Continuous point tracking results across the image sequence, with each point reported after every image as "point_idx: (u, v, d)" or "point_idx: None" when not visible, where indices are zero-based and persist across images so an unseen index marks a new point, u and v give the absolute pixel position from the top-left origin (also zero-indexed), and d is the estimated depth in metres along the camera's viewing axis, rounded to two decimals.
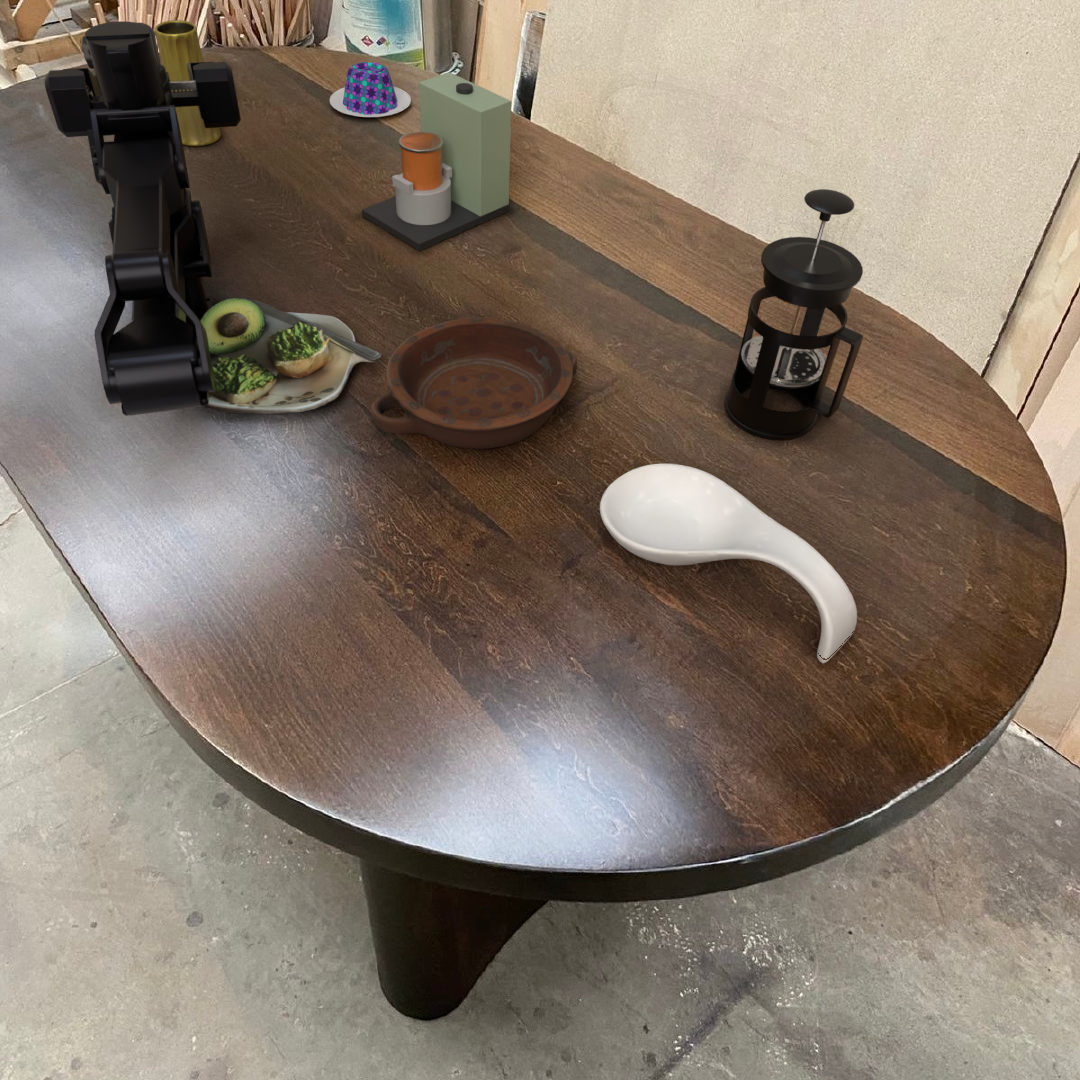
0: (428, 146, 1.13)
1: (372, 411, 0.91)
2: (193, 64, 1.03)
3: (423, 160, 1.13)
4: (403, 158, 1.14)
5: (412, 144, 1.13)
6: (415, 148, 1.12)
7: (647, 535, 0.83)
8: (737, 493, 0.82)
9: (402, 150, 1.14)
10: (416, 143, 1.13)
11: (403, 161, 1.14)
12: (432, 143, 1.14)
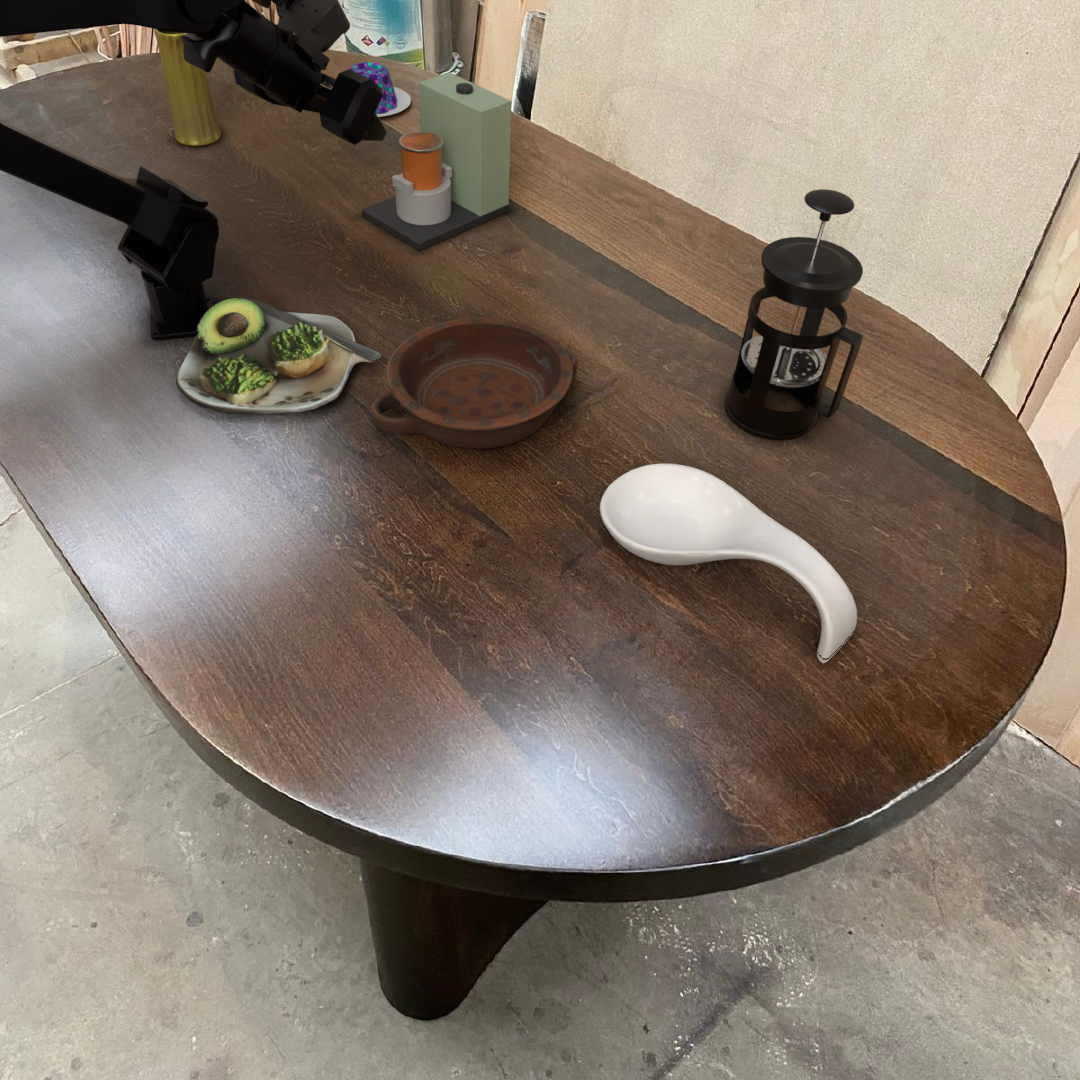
0: (428, 146, 1.13)
1: (372, 411, 0.91)
2: None
3: (423, 160, 1.13)
4: (403, 158, 1.14)
5: (412, 144, 1.13)
6: (415, 148, 1.12)
7: (647, 535, 0.83)
8: (737, 493, 0.82)
9: (402, 150, 1.14)
10: (416, 143, 1.13)
11: (403, 161, 1.14)
12: (432, 143, 1.14)
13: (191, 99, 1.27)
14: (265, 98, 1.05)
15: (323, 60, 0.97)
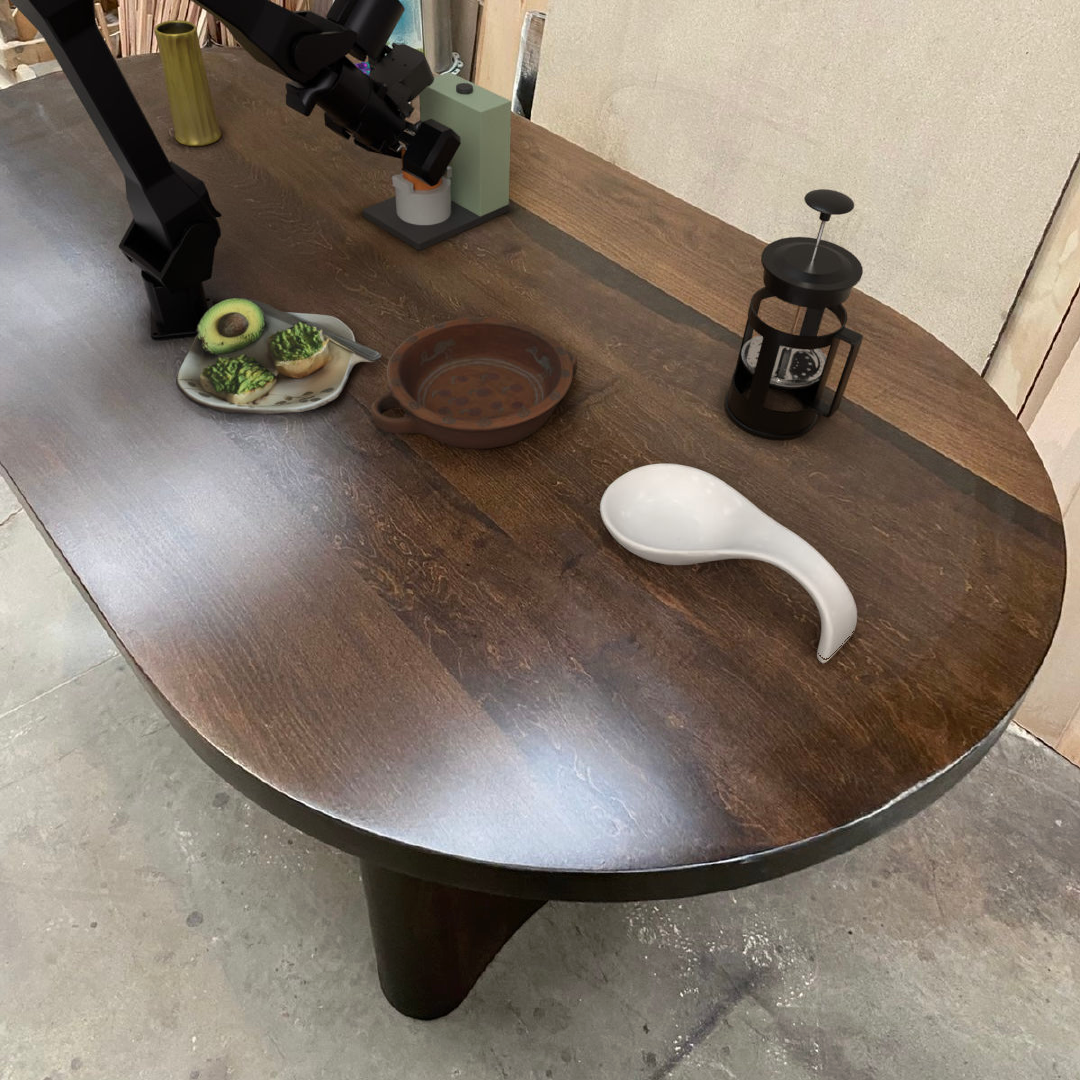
0: None
1: (372, 411, 0.91)
2: None
3: None
4: None
5: None
6: None
7: (647, 535, 0.83)
8: (737, 493, 0.82)
9: (402, 150, 1.14)
10: None
11: None
12: None
13: (191, 99, 1.27)
14: (361, 145, 1.13)
15: (408, 109, 1.06)
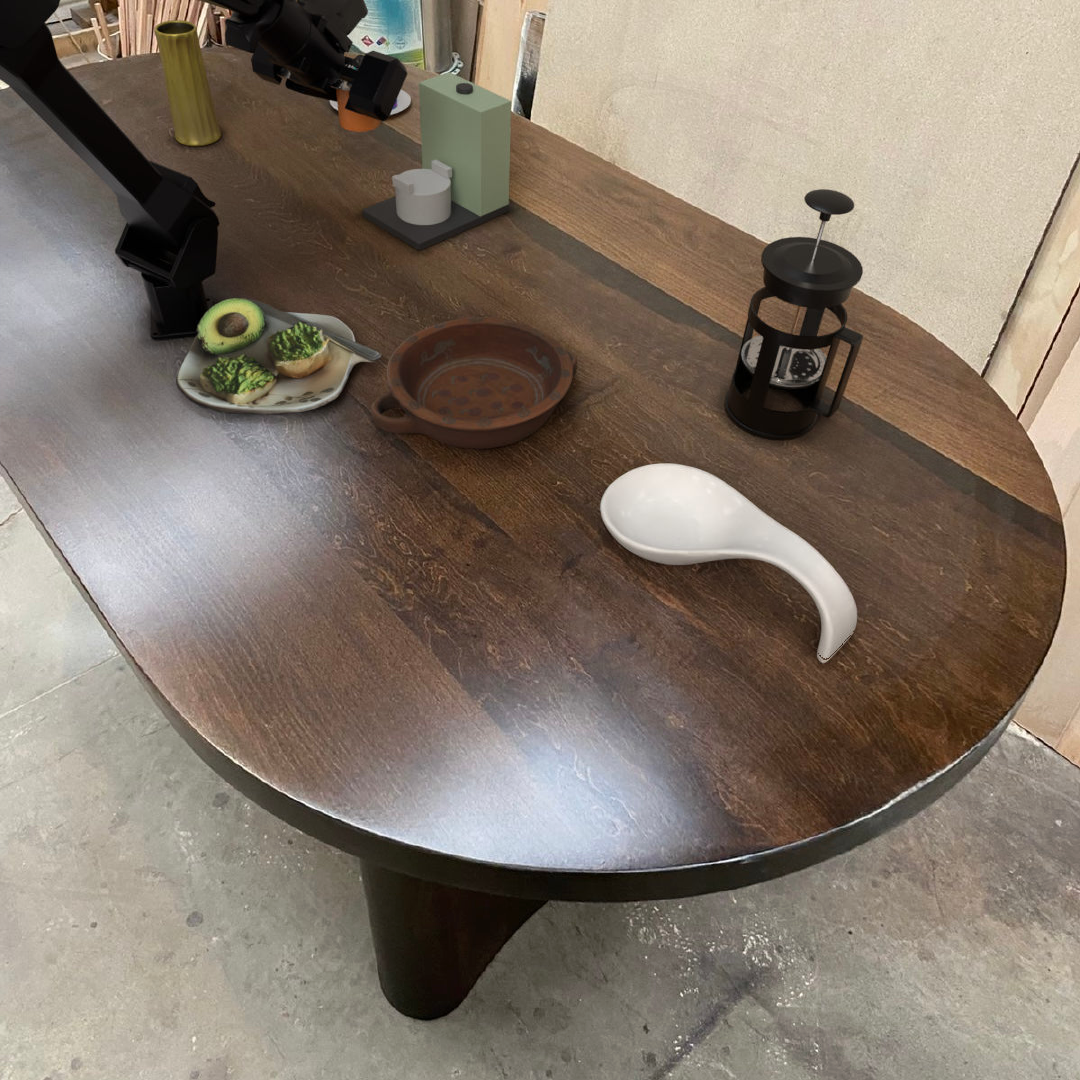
0: None
1: (372, 411, 0.91)
2: None
3: None
4: (340, 99, 1.10)
5: None
6: None
7: (647, 535, 0.83)
8: (737, 493, 0.82)
9: (338, 90, 1.10)
10: None
11: (340, 102, 1.11)
12: None
13: (191, 99, 1.27)
14: (294, 89, 1.09)
15: (347, 43, 1.03)
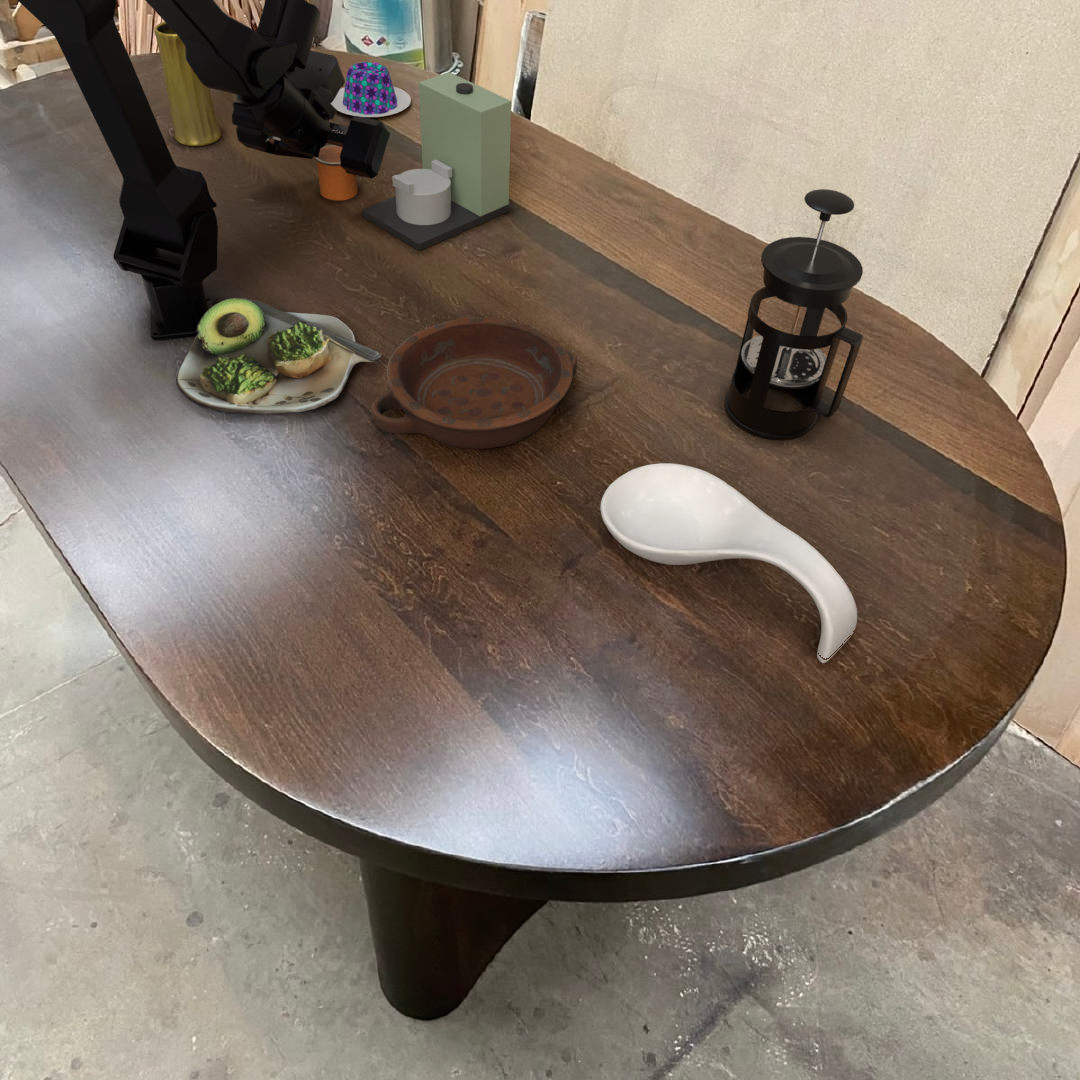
0: None
1: (372, 411, 0.91)
2: None
3: (344, 171, 1.21)
4: (322, 173, 1.21)
5: (329, 158, 1.20)
6: (335, 161, 1.20)
7: (648, 535, 0.83)
8: (738, 493, 0.82)
9: (320, 165, 1.21)
10: (332, 157, 1.21)
11: (322, 176, 1.21)
12: None
13: (191, 99, 1.27)
14: (266, 151, 1.18)
15: (332, 110, 1.13)
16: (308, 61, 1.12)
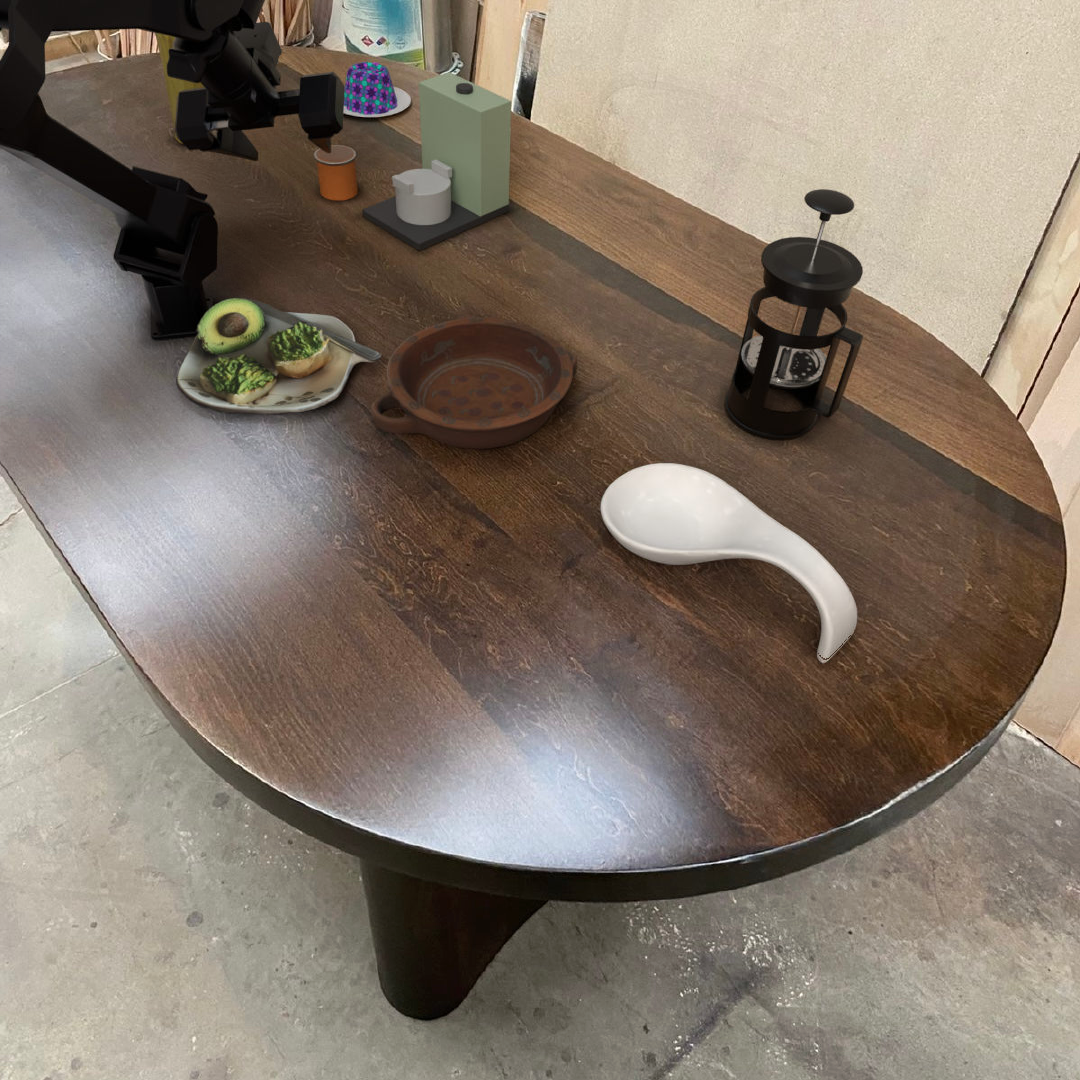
0: (345, 157, 1.21)
1: (372, 411, 0.91)
2: None
3: (344, 171, 1.21)
4: (322, 173, 1.21)
5: (329, 158, 1.20)
6: (335, 161, 1.20)
7: (648, 534, 0.83)
8: (738, 493, 0.82)
9: (320, 165, 1.21)
10: (332, 157, 1.21)
11: (322, 176, 1.21)
12: (346, 154, 1.22)
13: None
14: (211, 148, 1.07)
15: (277, 75, 1.03)
16: (239, 33, 1.03)
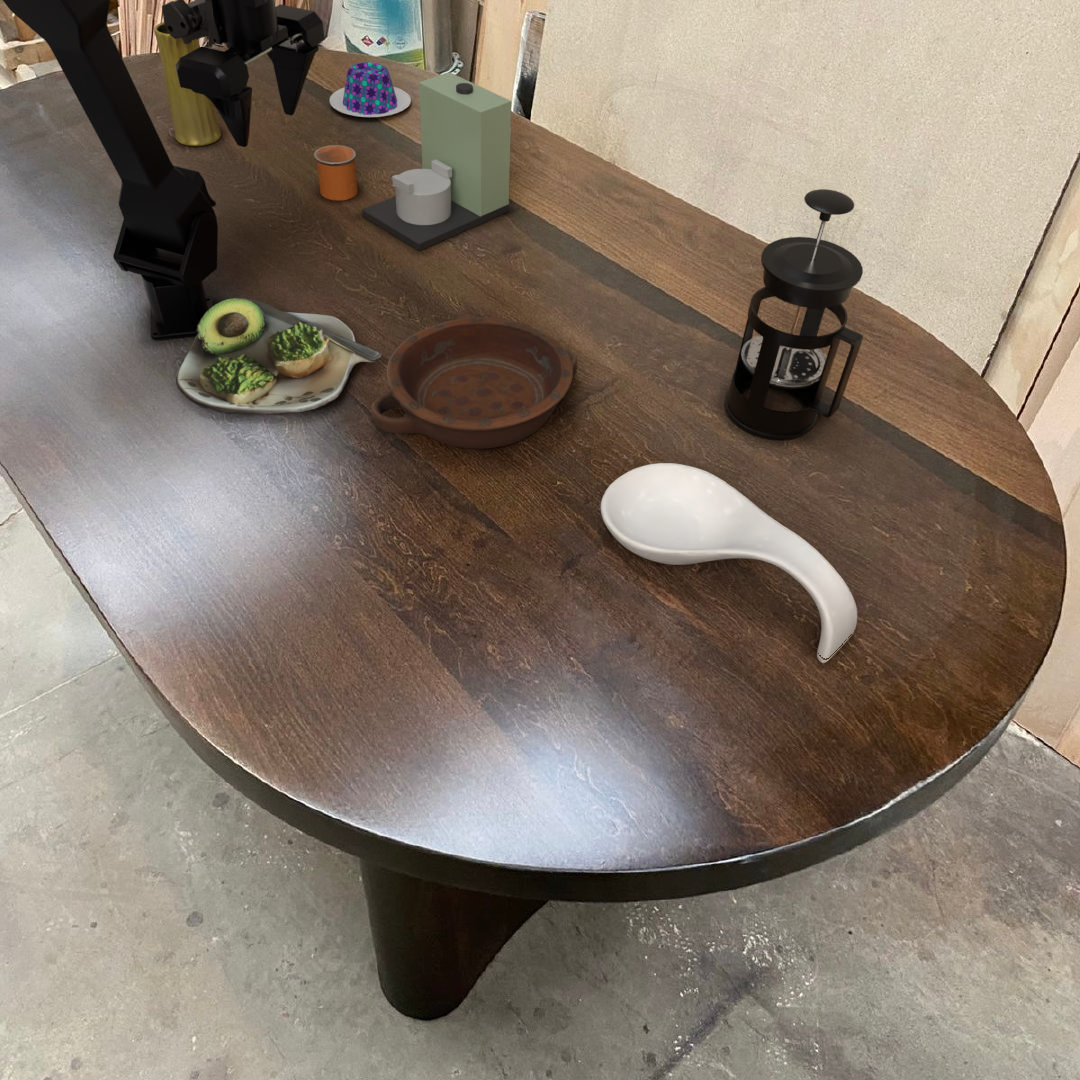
0: (345, 157, 1.21)
1: (372, 411, 0.91)
2: None
3: (344, 171, 1.21)
4: (322, 173, 1.21)
5: (329, 158, 1.20)
6: (335, 161, 1.20)
7: (648, 534, 0.83)
8: (738, 493, 0.82)
9: (320, 165, 1.21)
10: (332, 157, 1.21)
11: (322, 176, 1.21)
12: (346, 154, 1.22)
13: (191, 99, 1.27)
14: (243, 91, 0.97)
15: None
16: None
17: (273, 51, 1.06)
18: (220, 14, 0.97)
